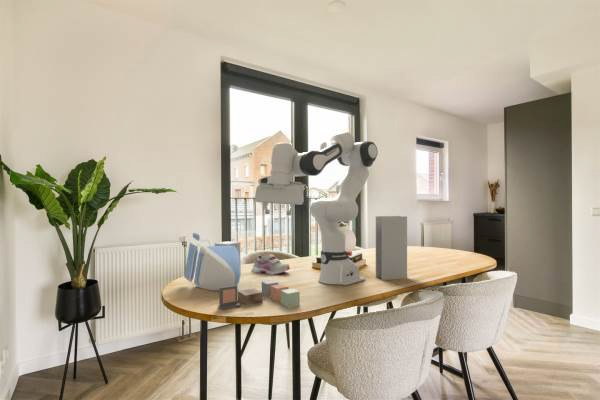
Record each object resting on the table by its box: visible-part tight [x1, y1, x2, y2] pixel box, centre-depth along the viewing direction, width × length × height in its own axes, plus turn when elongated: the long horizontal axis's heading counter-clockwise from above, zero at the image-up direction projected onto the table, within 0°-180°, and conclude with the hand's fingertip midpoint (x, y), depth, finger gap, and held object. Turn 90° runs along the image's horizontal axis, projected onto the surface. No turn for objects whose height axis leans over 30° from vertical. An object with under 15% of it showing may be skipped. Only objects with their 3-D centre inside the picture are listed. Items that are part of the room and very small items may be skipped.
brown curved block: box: [237, 287, 264, 307], centre depth 127 cm, size 7×7×4 cm
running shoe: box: [251, 252, 291, 276], centre depth 177 cm, size 9×22×10 cm, turn 66°
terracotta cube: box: [270, 283, 289, 302], centre depth 130 cm, size 5×5×5 cm
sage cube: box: [280, 288, 301, 308], centre depth 123 cm, size 5×5×5 cm
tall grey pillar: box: [375, 215, 408, 281], centre depth 165 cm, size 14×6×30 cm, turn 108°
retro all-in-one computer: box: [183, 232, 242, 291], centre depth 147 cm, size 25×23×17 cm
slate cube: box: [261, 279, 279, 297], centre depth 137 cm, size 5×5×5 cm
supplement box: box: [214, 240, 242, 276], centre depth 169 cm, size 10×9×17 cm
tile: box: [217, 285, 241, 311], centre depth 120 cm, size 7×3×7 cm, turn 123°
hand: (277, 214), depth 138 cm, fingers open, 8 cm apart
